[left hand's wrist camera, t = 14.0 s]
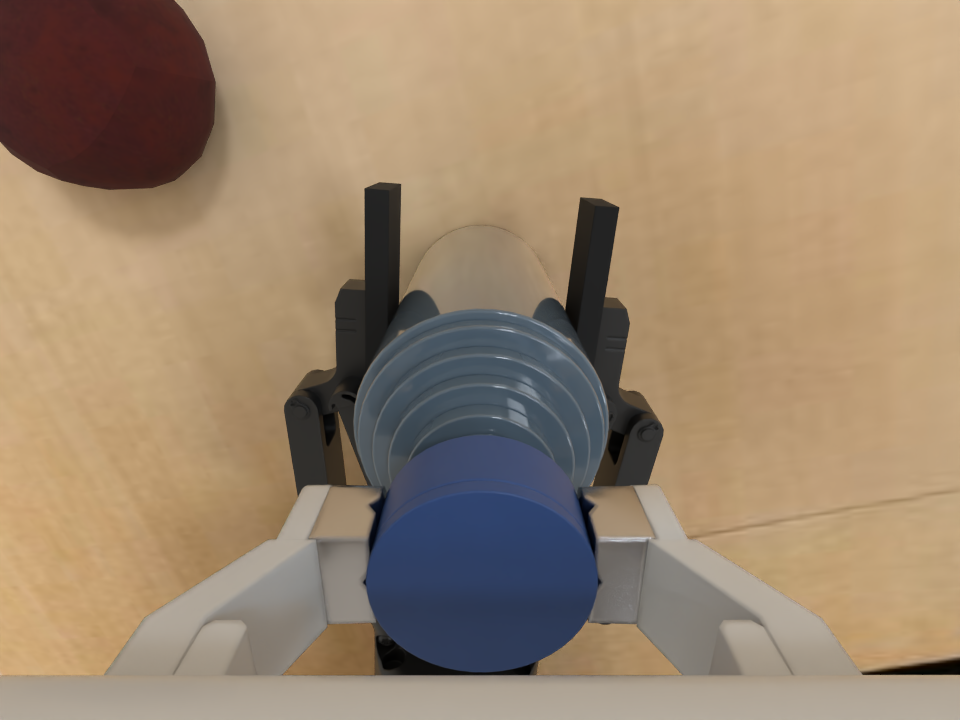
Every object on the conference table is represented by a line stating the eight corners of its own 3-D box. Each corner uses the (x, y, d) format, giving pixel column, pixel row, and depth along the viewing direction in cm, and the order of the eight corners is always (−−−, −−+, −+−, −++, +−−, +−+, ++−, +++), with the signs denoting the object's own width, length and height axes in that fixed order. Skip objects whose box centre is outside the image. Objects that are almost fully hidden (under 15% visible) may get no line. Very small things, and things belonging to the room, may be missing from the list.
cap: (436, 619, 11) (430, 698, 10) (347, 479, 10) (321, 543, 9) (608, 558, 11) (630, 631, 9) (534, 402, 10) (545, 455, 8)
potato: (25, 86, 23) (-157, 64, 16) (137, -65, 21) (-18, -157, 14) (170, 222, 25) (60, 251, 18) (284, 96, 23) (207, 78, 17)
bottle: (449, 374, 28) (402, 741, 11) (390, 260, 26) (214, 494, 9) (567, 323, 27) (718, 640, 10) (515, 201, 25) (592, 333, 8)
